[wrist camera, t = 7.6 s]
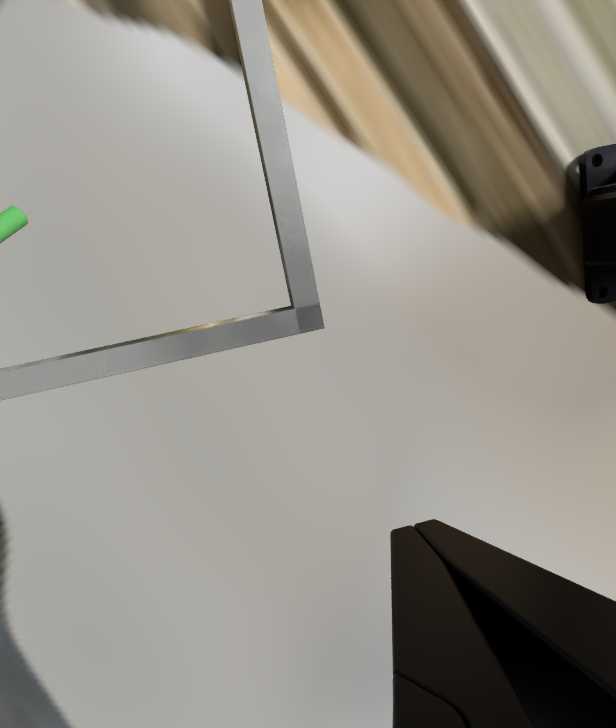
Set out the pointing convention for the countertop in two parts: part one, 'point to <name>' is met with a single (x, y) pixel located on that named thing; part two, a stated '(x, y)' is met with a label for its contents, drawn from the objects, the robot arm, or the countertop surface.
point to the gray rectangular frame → (289, 234)
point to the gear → (11, 222)
